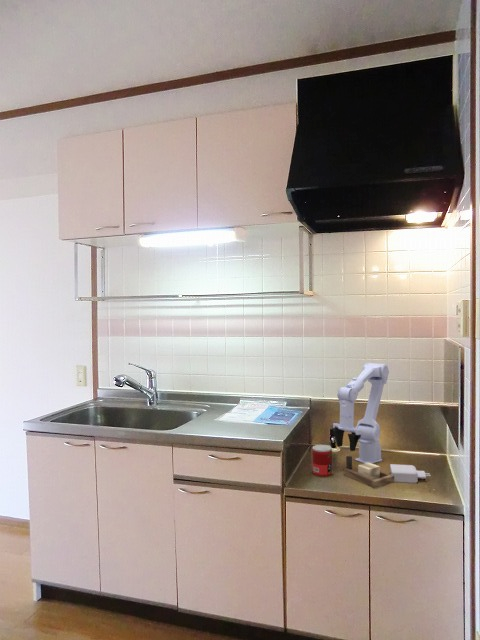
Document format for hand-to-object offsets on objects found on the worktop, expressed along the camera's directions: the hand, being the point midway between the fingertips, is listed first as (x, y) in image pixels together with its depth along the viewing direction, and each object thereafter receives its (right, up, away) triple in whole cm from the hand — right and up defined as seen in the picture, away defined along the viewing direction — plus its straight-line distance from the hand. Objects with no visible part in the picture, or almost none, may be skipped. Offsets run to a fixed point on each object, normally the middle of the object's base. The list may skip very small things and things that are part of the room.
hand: (346, 448), depth 197 cm
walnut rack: (+7, -10, -7) cm, 14 cm away
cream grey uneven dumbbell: (+5, -10, -4) cm, 12 cm away
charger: (+24, -10, -9) cm, 27 cm away
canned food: (-10, -10, -1) cm, 15 cm away
